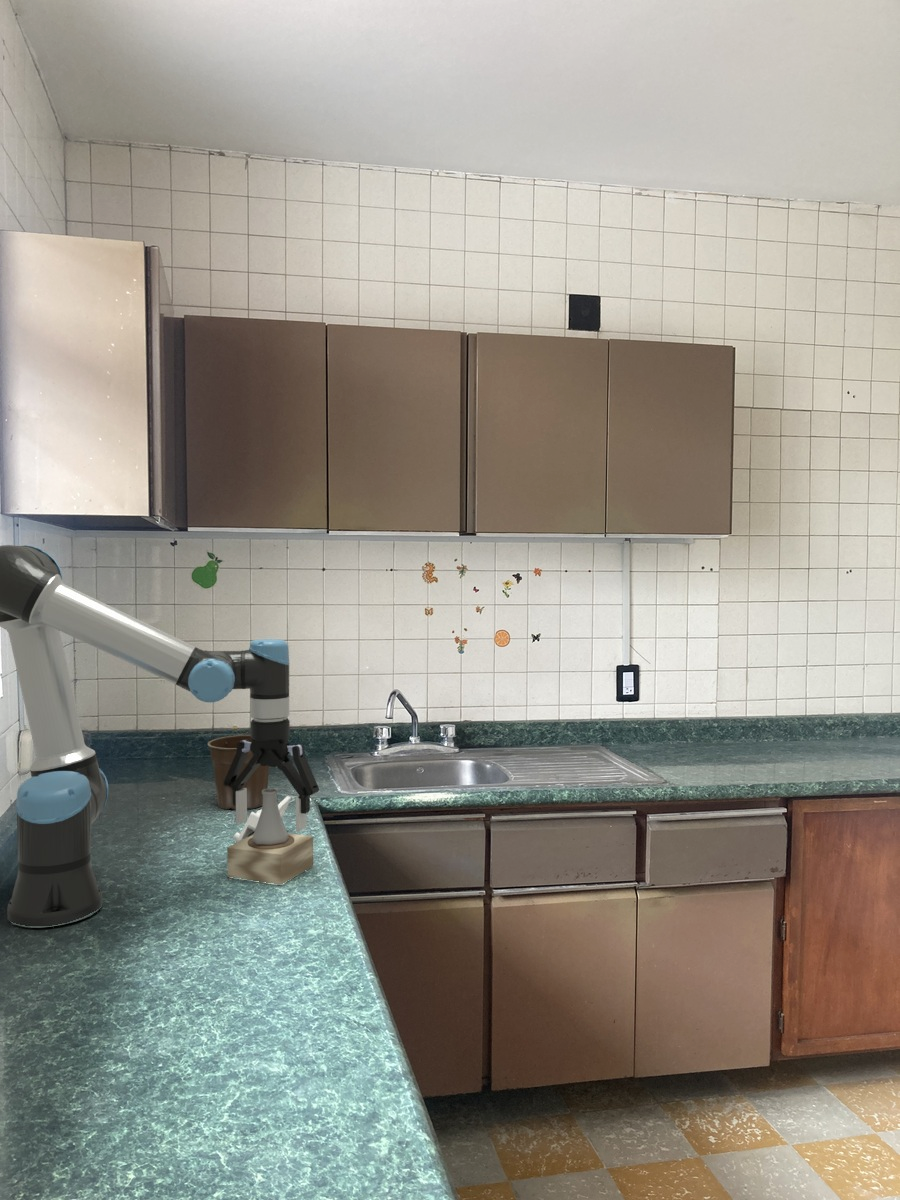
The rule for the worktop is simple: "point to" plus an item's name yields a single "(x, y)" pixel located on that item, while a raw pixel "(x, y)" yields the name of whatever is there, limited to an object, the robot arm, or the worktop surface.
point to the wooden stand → (270, 859)
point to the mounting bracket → (254, 818)
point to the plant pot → (222, 760)
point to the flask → (270, 821)
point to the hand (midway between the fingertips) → (270, 825)
